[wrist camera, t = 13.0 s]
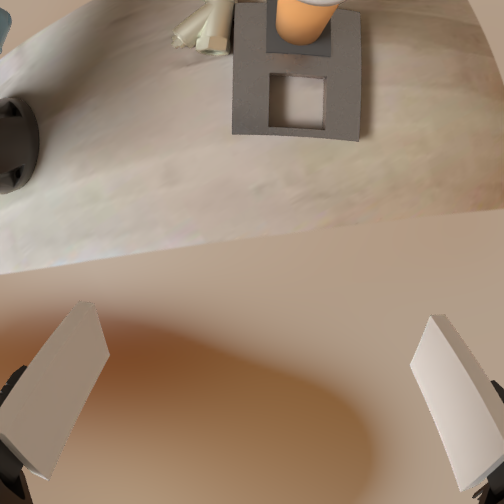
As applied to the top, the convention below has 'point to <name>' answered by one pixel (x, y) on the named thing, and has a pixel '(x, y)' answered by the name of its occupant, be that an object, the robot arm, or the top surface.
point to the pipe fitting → (207, 28)
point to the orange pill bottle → (303, 19)
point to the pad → (281, 46)
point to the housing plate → (296, 75)
